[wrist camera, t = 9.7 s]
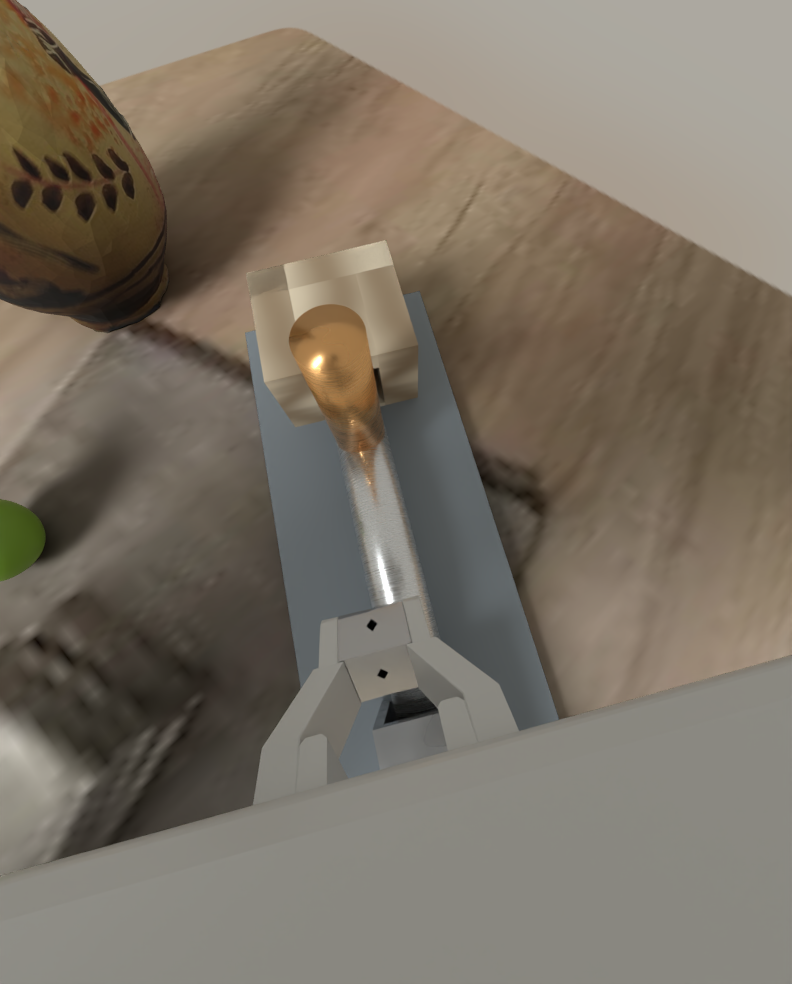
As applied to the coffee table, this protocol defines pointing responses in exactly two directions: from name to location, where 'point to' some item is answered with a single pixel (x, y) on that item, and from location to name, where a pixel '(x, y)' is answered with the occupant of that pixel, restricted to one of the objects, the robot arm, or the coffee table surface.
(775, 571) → the coffee table surface
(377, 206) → the coffee table surface
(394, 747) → the grey sleeve
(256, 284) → the birch socket
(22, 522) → the snail figurine
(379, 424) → the bolt with orange handle
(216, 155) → the coffee table surface
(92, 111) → the ceramic jug
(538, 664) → the slate board
